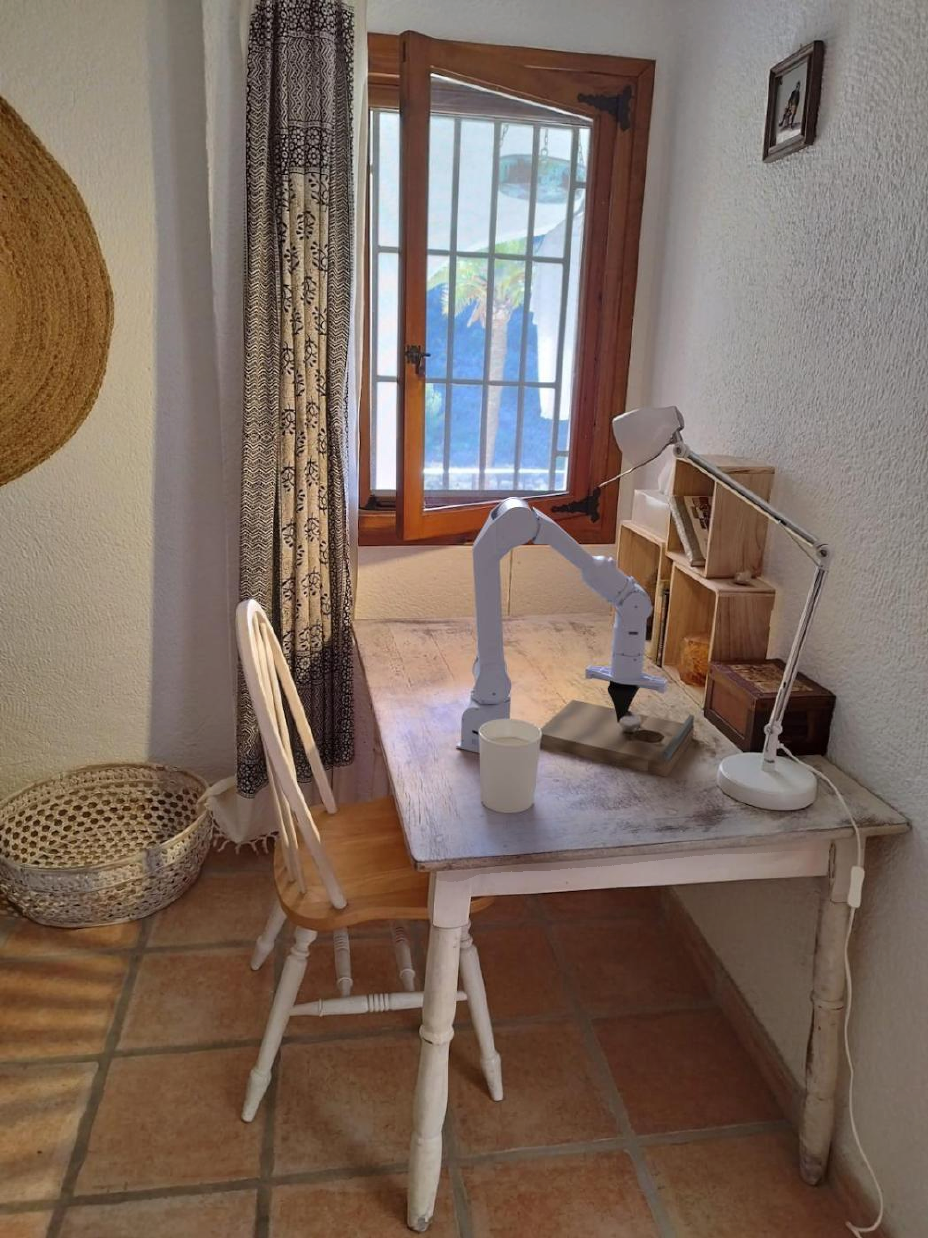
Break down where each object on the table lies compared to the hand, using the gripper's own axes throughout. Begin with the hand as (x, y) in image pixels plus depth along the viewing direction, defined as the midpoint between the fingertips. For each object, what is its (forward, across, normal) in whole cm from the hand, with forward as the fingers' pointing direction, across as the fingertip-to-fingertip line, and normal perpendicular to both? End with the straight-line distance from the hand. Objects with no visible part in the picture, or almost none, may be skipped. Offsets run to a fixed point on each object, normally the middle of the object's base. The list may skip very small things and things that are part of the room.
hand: (622, 721), depth 162 cm
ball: (0, -2, 0) cm, 2 cm away
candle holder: (+4, +9, +30) cm, 32 cm away
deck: (+4, 0, 0) cm, 4 cm away
